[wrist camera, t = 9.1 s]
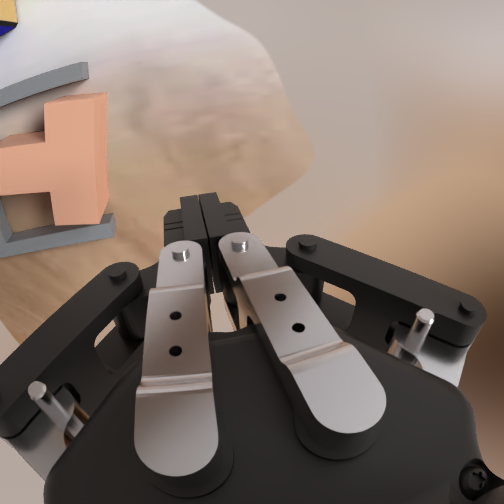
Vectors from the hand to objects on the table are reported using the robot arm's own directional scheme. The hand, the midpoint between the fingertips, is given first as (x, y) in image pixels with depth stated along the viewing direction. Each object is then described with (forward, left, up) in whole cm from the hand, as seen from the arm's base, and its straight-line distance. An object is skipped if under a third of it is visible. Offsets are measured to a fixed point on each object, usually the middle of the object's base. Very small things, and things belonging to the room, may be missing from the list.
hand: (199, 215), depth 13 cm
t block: (-12, +1, -16) cm, 20 cm away
